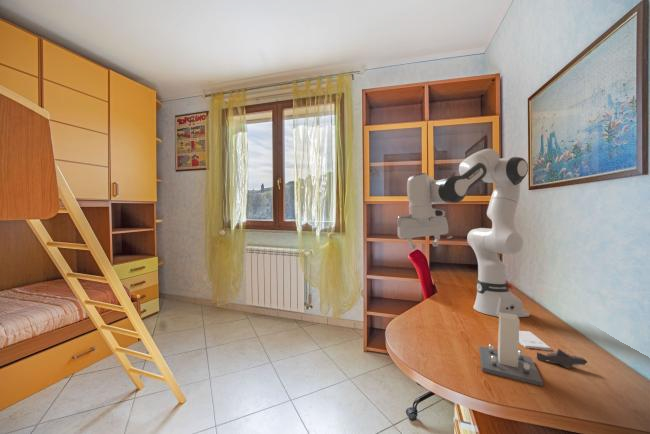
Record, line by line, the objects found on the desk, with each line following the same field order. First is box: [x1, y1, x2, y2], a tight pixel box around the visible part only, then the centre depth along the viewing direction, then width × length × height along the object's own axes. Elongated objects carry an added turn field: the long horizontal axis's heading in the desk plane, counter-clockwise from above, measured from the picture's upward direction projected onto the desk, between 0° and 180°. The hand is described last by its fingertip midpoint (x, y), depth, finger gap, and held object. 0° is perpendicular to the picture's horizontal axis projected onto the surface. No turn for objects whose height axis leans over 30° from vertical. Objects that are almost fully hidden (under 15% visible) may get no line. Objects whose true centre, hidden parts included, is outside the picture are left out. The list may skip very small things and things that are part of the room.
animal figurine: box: [536, 348, 588, 370], centre depth 82 cm, size 12×4×5 cm, turn 58°
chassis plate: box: [478, 343, 544, 387], centre depth 81 cm, size 14×14×4 cm
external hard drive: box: [519, 330, 552, 352], centre depth 97 cm, size 2×8×12 cm
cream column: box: [497, 312, 521, 368], centre depth 81 cm, size 4×4×14 cm
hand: (424, 247), depth 108 cm, fingers open, 8 cm apart
